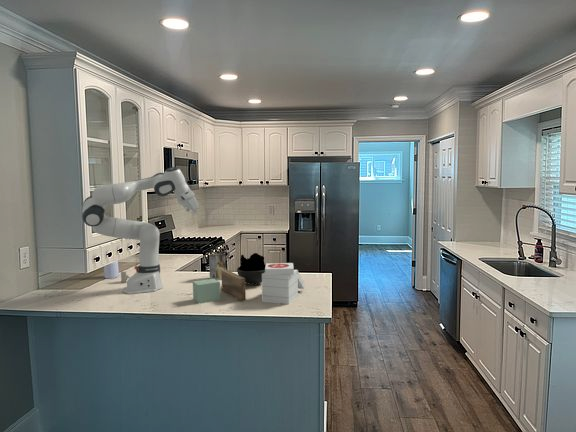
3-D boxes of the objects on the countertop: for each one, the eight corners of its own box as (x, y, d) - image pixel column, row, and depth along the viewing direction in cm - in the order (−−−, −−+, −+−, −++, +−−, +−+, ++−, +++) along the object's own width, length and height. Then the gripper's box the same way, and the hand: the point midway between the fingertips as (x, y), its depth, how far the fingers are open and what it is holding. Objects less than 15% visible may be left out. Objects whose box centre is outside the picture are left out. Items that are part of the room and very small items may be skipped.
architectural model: (126, 281, 281) (125, 270, 280) (132, 283, 276) (131, 271, 276) (121, 282, 278) (120, 271, 277) (127, 284, 274) (126, 272, 273)
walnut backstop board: (240, 301, 231) (240, 279, 229) (222, 290, 253) (221, 270, 252) (245, 300, 232) (245, 278, 231) (226, 289, 254) (226, 269, 253)
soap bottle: (116, 274, 298) (114, 239, 296) (120, 277, 291) (119, 240, 289) (102, 277, 292) (100, 240, 290) (107, 279, 285) (105, 242, 283)
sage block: (198, 303, 228) (198, 285, 227) (193, 299, 235) (192, 281, 235) (220, 300, 234) (219, 281, 233) (214, 296, 242) (213, 278, 241)
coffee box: (219, 276, 288) (219, 252, 286) (226, 278, 284) (225, 253, 282) (209, 279, 281) (208, 254, 279) (216, 280, 277) (215, 255, 275)
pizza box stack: (308, 290, 250) (307, 259, 248) (290, 305, 222) (290, 270, 220) (277, 288, 257) (276, 258, 255) (256, 302, 228) (255, 268, 227)
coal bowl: (273, 280, 275) (272, 251, 273) (265, 289, 255) (265, 257, 253) (242, 279, 278) (241, 250, 276) (233, 287, 259) (232, 256, 257)
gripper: (170, 192, 258) (179, 211, 265) (186, 198, 243) (195, 219, 250) (179, 187, 261) (188, 206, 268) (195, 193, 246) (204, 213, 253)
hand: (192, 212), depth 259 cm, fingers open, 8 cm apart
